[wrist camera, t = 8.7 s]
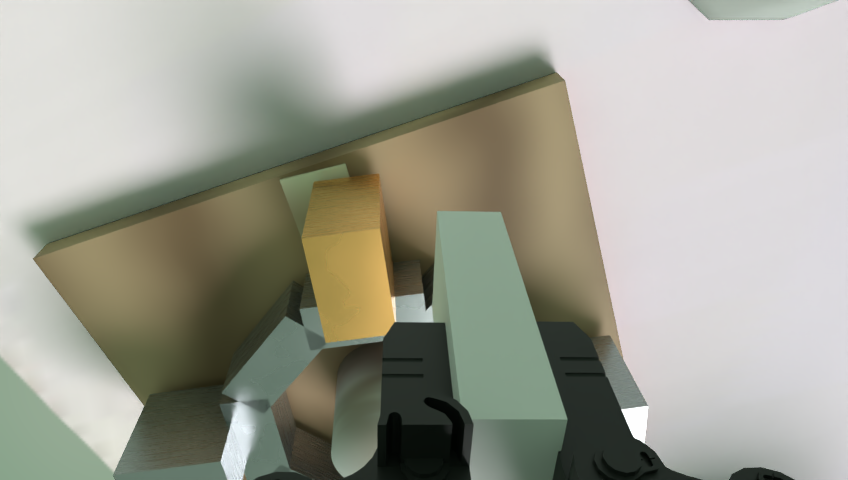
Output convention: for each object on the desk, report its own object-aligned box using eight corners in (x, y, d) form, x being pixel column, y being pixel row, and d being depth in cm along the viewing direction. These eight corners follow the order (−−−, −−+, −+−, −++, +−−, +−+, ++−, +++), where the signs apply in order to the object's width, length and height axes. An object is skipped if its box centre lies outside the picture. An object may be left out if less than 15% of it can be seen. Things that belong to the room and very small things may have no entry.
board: (556, 72, 24) (604, 118, 19) (637, 449, 34) (682, 542, 29) (46, 244, 26) (-32, 326, 21) (271, 549, 36) (254, 653, 31)
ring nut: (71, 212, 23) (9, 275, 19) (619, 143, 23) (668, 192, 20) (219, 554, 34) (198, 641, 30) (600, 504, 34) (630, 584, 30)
